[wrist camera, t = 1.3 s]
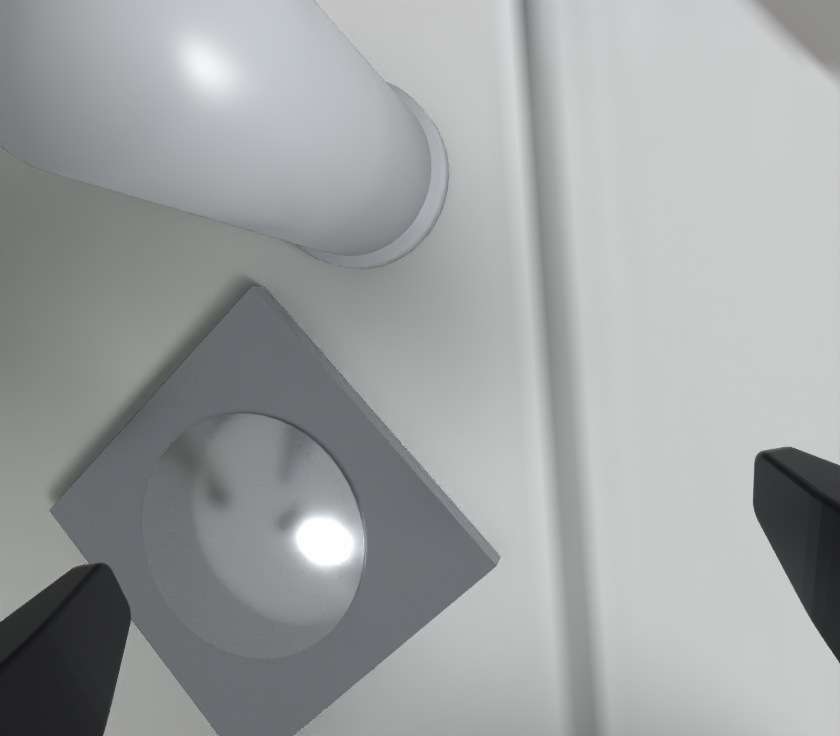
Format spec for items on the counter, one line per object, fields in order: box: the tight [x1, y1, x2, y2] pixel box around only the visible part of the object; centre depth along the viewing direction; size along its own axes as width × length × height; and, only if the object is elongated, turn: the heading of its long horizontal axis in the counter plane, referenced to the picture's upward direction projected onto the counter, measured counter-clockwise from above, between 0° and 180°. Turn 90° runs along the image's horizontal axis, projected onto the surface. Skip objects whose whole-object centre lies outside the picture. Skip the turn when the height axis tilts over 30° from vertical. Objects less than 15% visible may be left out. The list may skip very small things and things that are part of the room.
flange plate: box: [49, 286, 500, 736], centre depth 23 cm, size 12×12×1 cm
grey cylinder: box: [0, 0, 449, 269], centre depth 16 cm, size 6×6×12 cm
